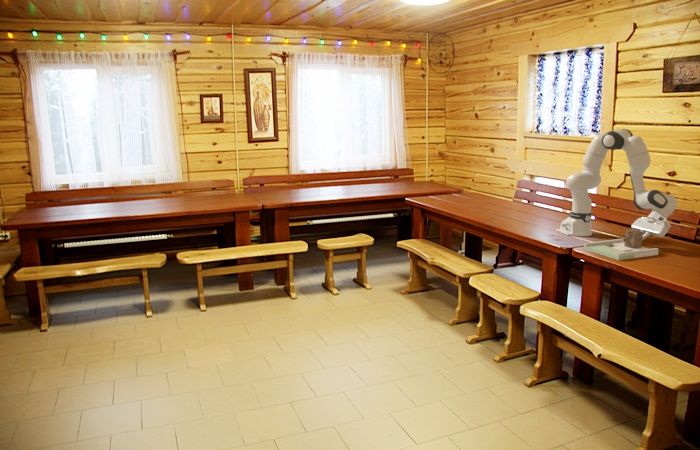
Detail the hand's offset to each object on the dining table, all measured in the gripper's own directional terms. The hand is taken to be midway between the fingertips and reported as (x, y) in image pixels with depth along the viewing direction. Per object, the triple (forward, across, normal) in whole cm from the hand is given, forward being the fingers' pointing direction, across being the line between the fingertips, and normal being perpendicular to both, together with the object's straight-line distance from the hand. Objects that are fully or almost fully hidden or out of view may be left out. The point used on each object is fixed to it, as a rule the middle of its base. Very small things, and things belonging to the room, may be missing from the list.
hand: (640, 238), depth 324 cm
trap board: (+15, 0, -6) cm, 16 cm away
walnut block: (+7, 0, -1) cm, 7 cm away
